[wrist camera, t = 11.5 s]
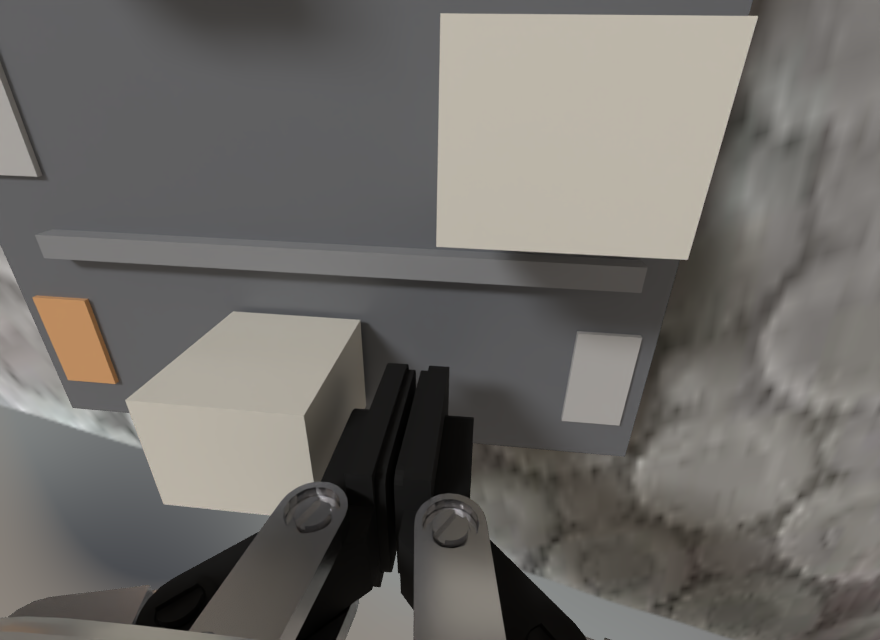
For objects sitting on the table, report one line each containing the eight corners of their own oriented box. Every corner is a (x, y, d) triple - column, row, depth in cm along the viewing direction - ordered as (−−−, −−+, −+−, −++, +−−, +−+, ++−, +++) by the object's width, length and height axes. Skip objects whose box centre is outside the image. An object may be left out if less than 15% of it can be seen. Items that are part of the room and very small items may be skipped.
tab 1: (360, 320, 13) (303, 415, 9) (366, 405, 15) (319, 520, 11) (233, 311, 14) (125, 400, 10) (251, 395, 15) (163, 503, 11)
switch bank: (840, -509, 8) (996, -781, 5) (610, 417, 17) (629, 470, 14) (-188, -423, 9) (-417, -600, 7) (113, 377, 18) (58, 418, 16)
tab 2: (645, 50, 10) (759, 15, 5) (615, 201, 11) (687, 259, 7) (460, 48, 10) (440, 12, 6) (455, 194, 11) (436, 246, 7)
